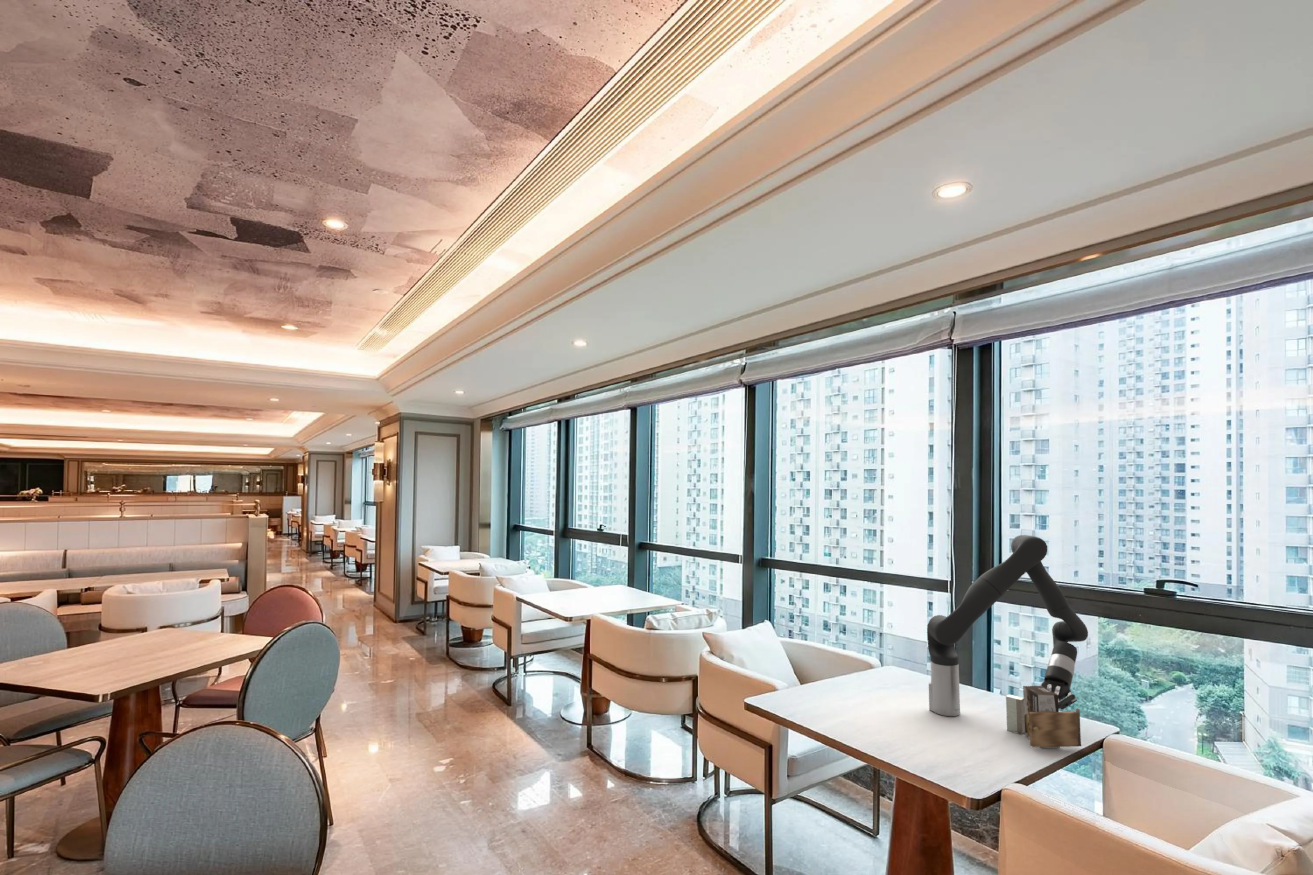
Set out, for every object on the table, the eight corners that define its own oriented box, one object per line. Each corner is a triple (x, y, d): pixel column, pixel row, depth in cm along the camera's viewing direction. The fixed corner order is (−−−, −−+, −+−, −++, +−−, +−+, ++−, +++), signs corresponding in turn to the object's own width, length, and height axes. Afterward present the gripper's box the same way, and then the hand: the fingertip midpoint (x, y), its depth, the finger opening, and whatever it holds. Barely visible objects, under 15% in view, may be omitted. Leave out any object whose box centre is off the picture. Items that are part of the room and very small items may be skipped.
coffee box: (1061, 748, 194) (1059, 694, 195) (1039, 748, 195) (1037, 694, 196) (1044, 736, 203) (1042, 685, 204) (1024, 736, 204) (1022, 684, 205)
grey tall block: (1006, 730, 208) (1005, 696, 209) (1010, 728, 210) (1009, 694, 211) (1022, 734, 205) (1021, 699, 205) (1025, 732, 207) (1024, 697, 207)
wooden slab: (1034, 748, 192) (1033, 711, 193) (1030, 745, 194) (1028, 708, 195) (1084, 748, 192) (1083, 710, 193) (1079, 744, 195) (1077, 708, 195)
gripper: (1035, 660, 218) (1023, 705, 209) (1079, 669, 208) (1068, 716, 199) (1041, 673, 221) (1029, 717, 212) (1085, 682, 211) (1075, 729, 202)
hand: (1048, 717), depth 206 cm, fingers closed
